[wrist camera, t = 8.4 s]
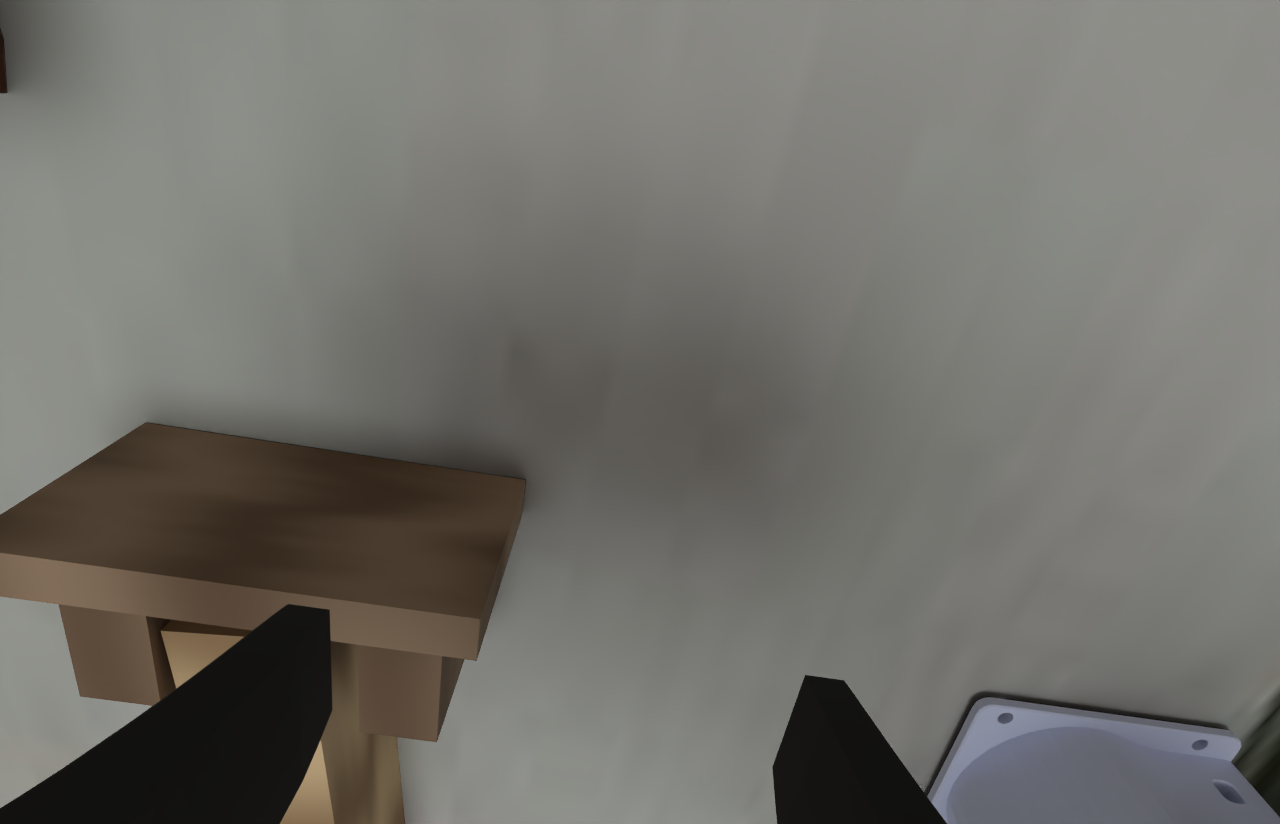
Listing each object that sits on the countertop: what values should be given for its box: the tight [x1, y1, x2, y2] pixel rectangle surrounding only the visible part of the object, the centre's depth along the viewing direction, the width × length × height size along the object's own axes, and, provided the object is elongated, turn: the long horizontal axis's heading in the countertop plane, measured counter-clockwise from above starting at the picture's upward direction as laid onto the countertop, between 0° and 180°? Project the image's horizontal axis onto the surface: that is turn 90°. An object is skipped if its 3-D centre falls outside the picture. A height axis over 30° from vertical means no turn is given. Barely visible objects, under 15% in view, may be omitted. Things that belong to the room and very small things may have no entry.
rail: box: [161, 619, 405, 824], centre depth 22 cm, size 14×4×5 cm, turn 176°
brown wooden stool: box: [0, 423, 526, 742], centre depth 18 cm, size 11×5×6 cm, turn 81°
